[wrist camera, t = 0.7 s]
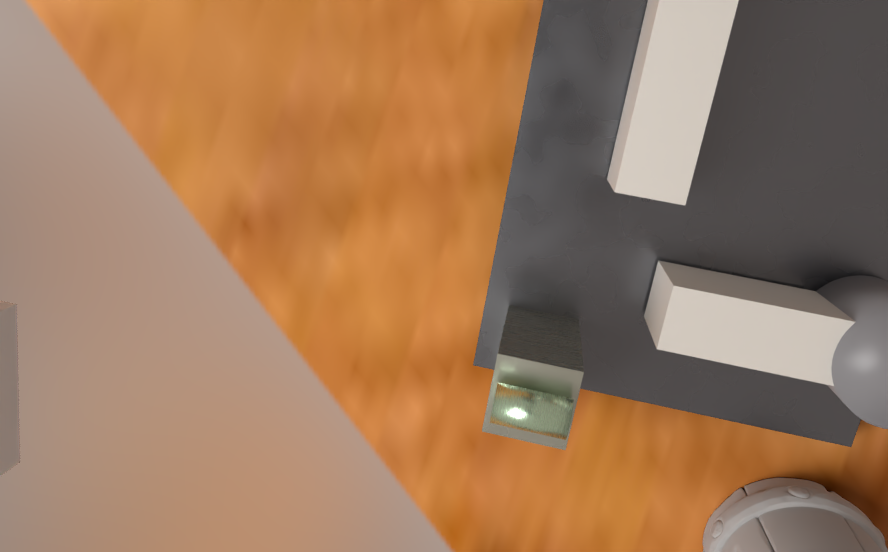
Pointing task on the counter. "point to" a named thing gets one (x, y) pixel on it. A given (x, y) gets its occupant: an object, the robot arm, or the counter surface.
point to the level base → (684, 213)
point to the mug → (790, 521)
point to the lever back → (780, 329)
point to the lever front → (670, 97)
